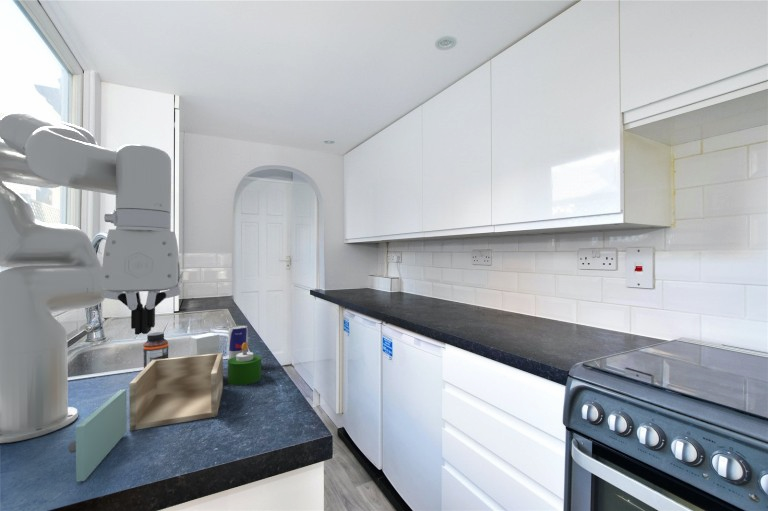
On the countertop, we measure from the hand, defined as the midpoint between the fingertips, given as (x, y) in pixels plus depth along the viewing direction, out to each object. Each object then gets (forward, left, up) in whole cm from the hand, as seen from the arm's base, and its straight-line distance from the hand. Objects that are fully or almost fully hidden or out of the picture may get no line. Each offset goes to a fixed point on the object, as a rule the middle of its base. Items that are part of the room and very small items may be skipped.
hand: (143, 332), depth 57 cm
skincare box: (+5, +36, -21) cm, 42 cm away
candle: (+15, +32, -21) cm, 41 cm away
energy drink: (+13, +44, -21) cm, 50 cm away
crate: (+2, +19, -21) cm, 28 cm away
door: (-7, +2, -20) cm, 21 cm away
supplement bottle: (-9, +48, -21) cm, 53 cm away
